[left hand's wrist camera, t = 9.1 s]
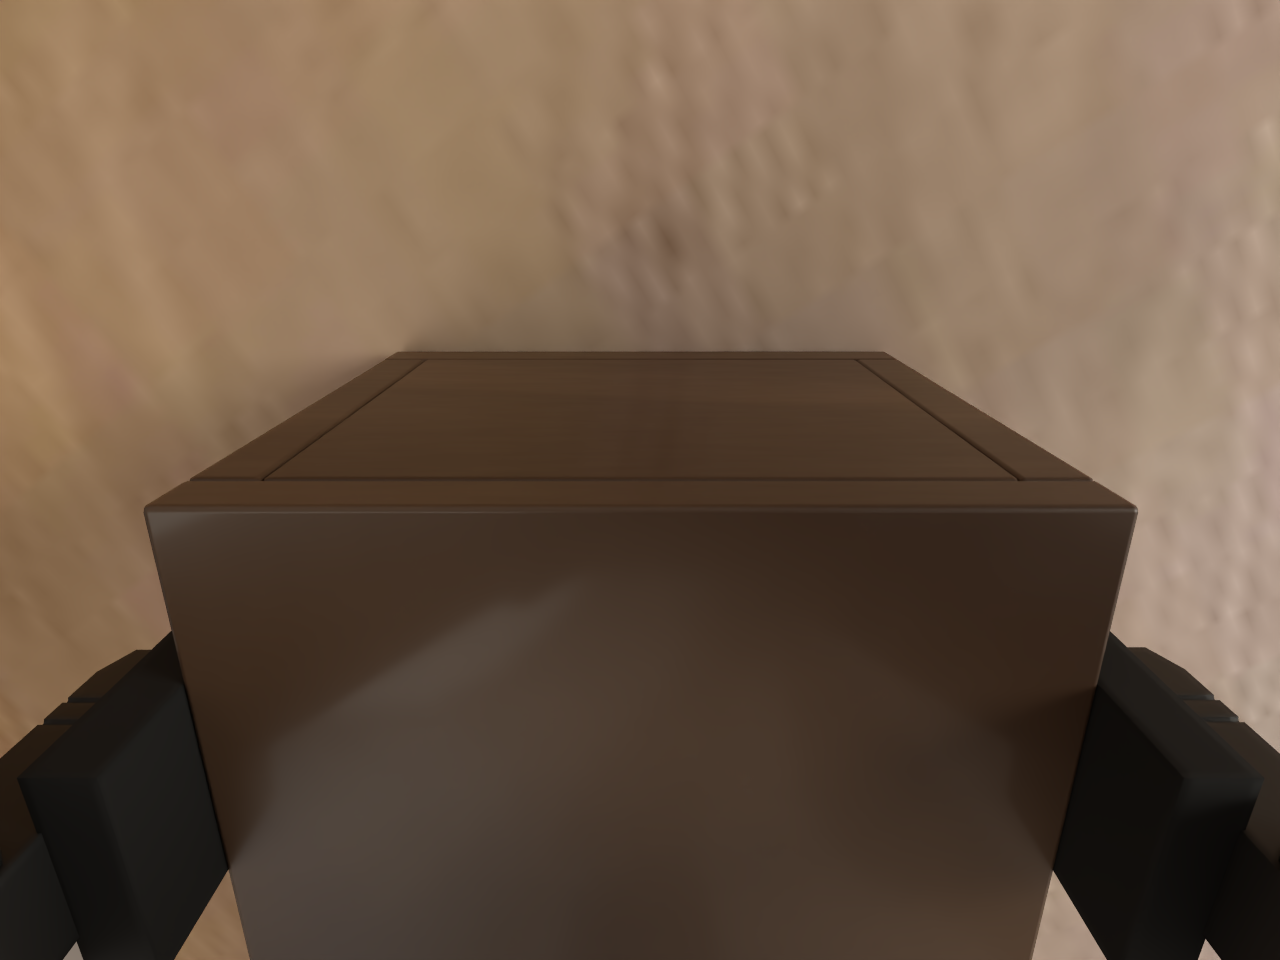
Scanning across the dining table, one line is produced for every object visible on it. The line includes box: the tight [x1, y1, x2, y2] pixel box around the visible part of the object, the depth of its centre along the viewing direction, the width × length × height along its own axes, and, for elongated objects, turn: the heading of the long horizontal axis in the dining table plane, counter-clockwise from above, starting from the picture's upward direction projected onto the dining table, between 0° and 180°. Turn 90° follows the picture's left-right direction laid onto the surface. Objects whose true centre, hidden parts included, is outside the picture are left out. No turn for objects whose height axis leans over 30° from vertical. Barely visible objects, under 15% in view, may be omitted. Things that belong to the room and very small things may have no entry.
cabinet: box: [144, 352, 1138, 960], centre depth 15 cm, size 17×10×9 cm, turn 0°
